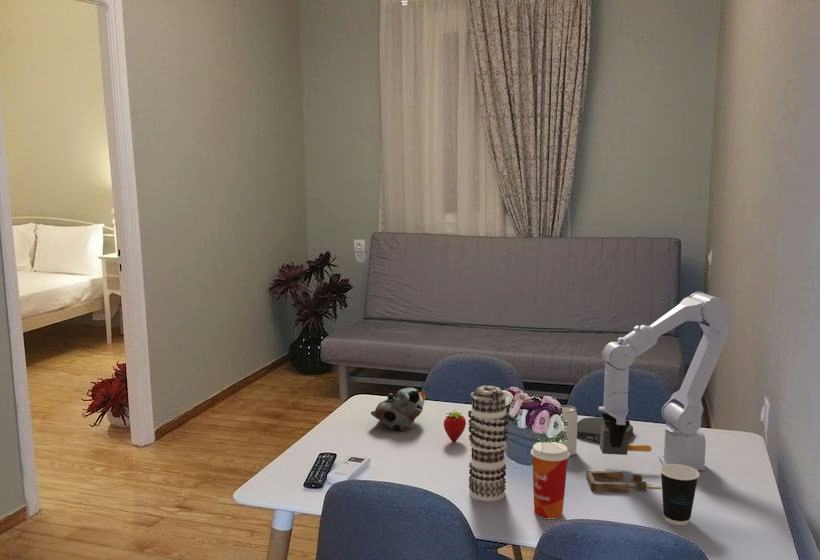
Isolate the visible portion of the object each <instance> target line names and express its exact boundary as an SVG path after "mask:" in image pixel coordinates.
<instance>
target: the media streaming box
mask: <svg viewBox="0 0 820 560" xmlns="http://www.w3.org/2000/svg"><path fill="white" fill-rule="evenodd" d="M601 425H605V421H604V418H603V417H598V416H597V417H593V416H592V417H585V418H581V419H580V420H579V421H577V439H580V440H585V441H590V442H595V443H599V444H600V436H601ZM627 430H628V431H629V435H628V440H629V439H630V438H631V437H632V436H633V435H634V426H633V425H632V424H630V425H629V426H628V428H627Z"/></svg>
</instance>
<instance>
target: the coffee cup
mask: <svg viewBox="0 0 820 560" xmlns="http://www.w3.org/2000/svg"><path fill="white" fill-rule="evenodd" d="M530 455H531V457H532V459H531V460H532V484H533V485H532V487H533V488H532V489H533V491H532V492H533V510H534V514H535V513H536V514H537V515H538V516H540V517H543V518H542V519H544V518H551V519H550V520H553V519H552V518H557V519H559V517H560V518H561V517H562V516H563V512H564V511H563V510H564V502H565V501H564V500H565V493H566V492H565V491H566V482H567V481H566V480H567V471H568V470H567V469H568V458H569V457H571V456H570V454H569V452H568V449H567V447H566V446H565V445H563V444H561V443H557V442H552V441H551V442H550V441H543V442H541V441H539V442H536V443H535V444H533V446H532V449H531V450H530ZM536 514H535V515H536ZM537 515H536V516H537ZM561 515H562V516H561ZM538 516H537V517H538ZM540 517H539V518H540Z"/></svg>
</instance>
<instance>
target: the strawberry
mask: <svg viewBox="0 0 820 560" xmlns="http://www.w3.org/2000/svg"><path fill="white" fill-rule="evenodd" d="M462 414H463V412H458V411H456V410H455V411H453V412H450V411H449V412H447V413H446V414H445V415H447V416H445V418H444V420H443V427H444V428H443V429H444V431H445V433H446V435H447V436H448V438H449V439H450V441H451V442H452V443H456V442H457V440H459V438H460V437H461V435H462V434H463V433H464V431H465V429H466V425H467V423H466V422H467V421H466V418H465V416H463V415H462Z"/></svg>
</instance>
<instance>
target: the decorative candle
mask: <svg viewBox="0 0 820 560" xmlns="http://www.w3.org/2000/svg"><path fill="white" fill-rule="evenodd" d="M470 397H472V400H471V403H472V405H471V407H470V410H469V411H467V414H468V415H467V416H468V417H469V419H468V432H469V433H470V434H469V435H468V438H469V439H468V440H469V446H470V447H471V448H470V449H471V450H470V451H471V455H470V462H469V463H468V468H469V470H468V474H469V477H468V482H469V483H468V494H469V496H470V497H471V498H473V499H475V500H477V501H483V502H495V500H496V501H500V500H502V499H504V498H505V497H506V489H507V488H506V484H507V481H506V480H507V479H506V475H507V473H506V469H507V465H506V457H505V449H506V448H507V442H506V441H507V440H508V435H507V434H508V433H509V430H508V428H506V427H507V426H508V425H509V420H508V419H509V418H510V415H509V414H508V413H507V408H506V398H507V394H506V393H504V392H503V390H502V389H501V388H500V387H499V386H495V385H480V386H478V387H476V389H474V391H472V392H471V393H470ZM503 497H504V498H503ZM501 498H502V499H501ZM499 499H500V500H499Z"/></svg>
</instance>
